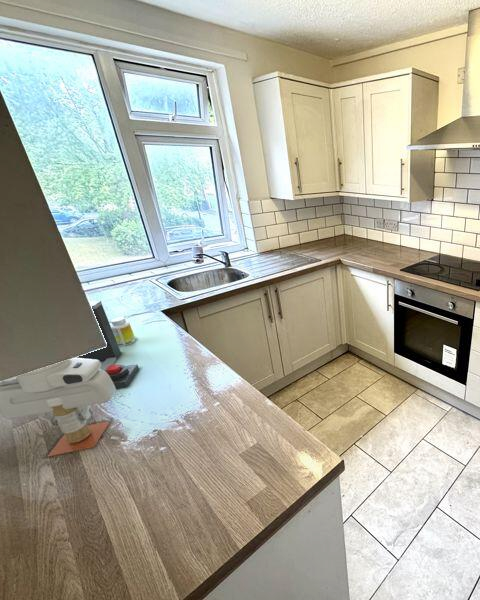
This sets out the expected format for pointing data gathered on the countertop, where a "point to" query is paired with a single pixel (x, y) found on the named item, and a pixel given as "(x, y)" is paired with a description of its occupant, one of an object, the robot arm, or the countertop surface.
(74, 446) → the coaster
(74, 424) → the sprinkles bottle
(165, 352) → the countertop surface
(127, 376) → the power switch
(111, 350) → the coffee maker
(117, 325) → the supplement bottle
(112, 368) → the power button
